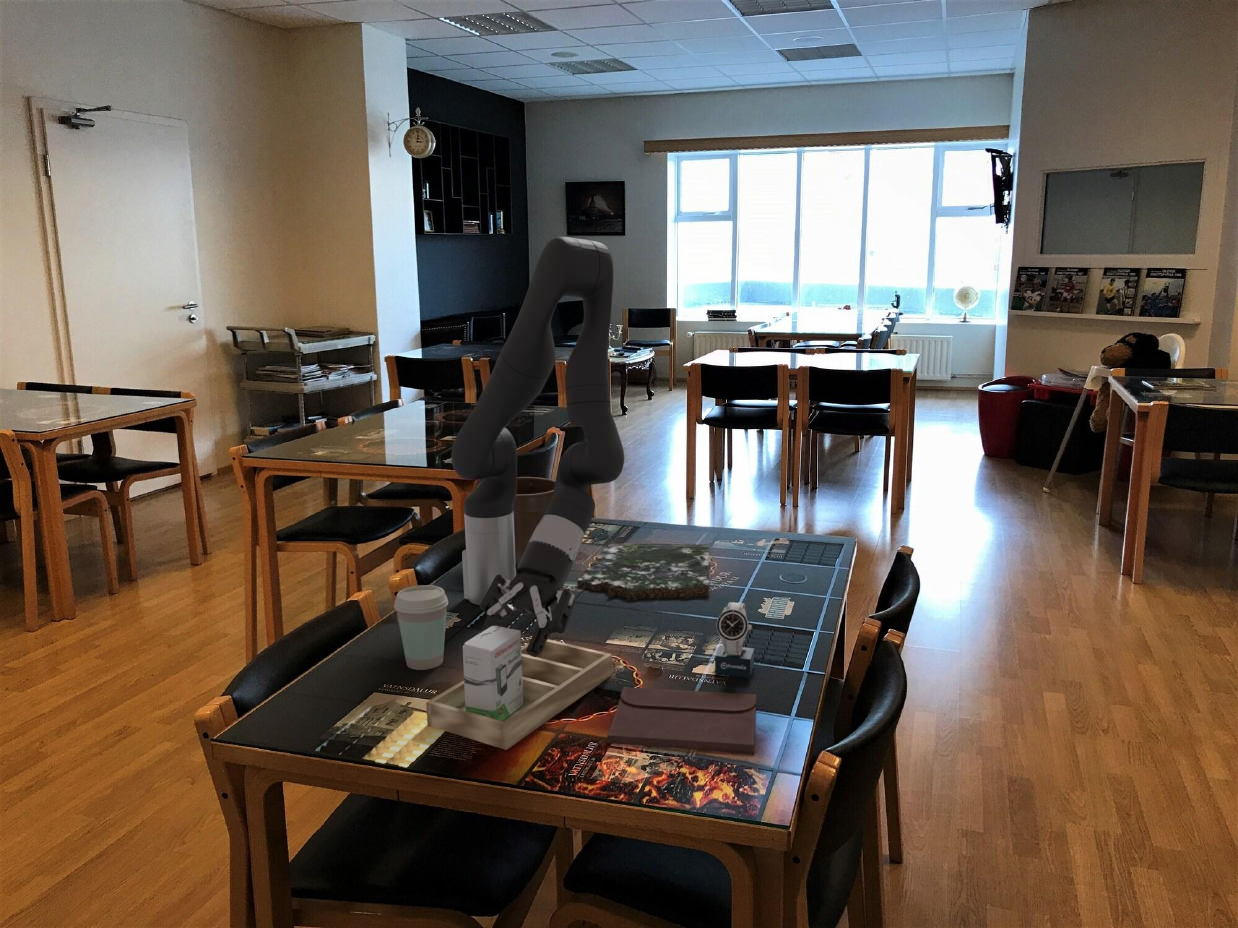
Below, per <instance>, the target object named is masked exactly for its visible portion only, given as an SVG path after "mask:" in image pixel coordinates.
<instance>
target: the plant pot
mask: <svg viewBox="0 0 1238 928" xmlns="http://www.w3.org/2000/svg"><path fill="white" fill-rule="evenodd" d="M555 481H556V480H553V479H550V478H544V477H535V476H533V477H532V476H519V477H518V476H517V493H516V498H515V500H514V504H513V509H514V535H515V561H516V566H518V564H519V562H520V560H521V558H522V556H523V554H524V552H525V549H526V547H527V545H528V543H529V541H530V539H531V537H532V535H533V533H534V530H535V529H536V527H537V525H538V524H539V522H540V521H541V519H542V517H543V515H544V513H545V511H546V509H547V507H548V505H549V503H550V500H551V499H552V497H553V494H554V486H555Z"/></svg>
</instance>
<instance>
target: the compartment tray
mask: <svg viewBox="0 0 1238 928" xmlns="http://www.w3.org/2000/svg"><path fill="white" fill-rule="evenodd" d="M528 645H529V642H527V643H525V644H524V645H523V646H521V658H522V686H523V705H522V706H521V707H519V708H518V709H517V710H516V711H515V712H514V713H512V714H511V715H510V716H509V717H508V718H506V719H505V720H504V721H503V722H502V721H499V720H495V719H492V718H489V717H485V716H482V715H479V714H475V713H472V712H468V711H466V710H465V688H464V680H462V681H460V682H459V683H457V684H455V685H454V686H452V687H449V688H448V689H447V690H445V691H443V692H441V693H440V694H438V695H436V696H434V697H432V698H431V699H429V700H428V701H425V707H426V722H427V723H426V724H427V726H428V727H431V728H435V729H439V730H442V731H445V732H447V733H451V734H453V735H457V736H461V737H465V738H466V739H470V740H474V741H477V742H480V743H482V744H485V745H489V746H493V747H496V748H499V749H502V750H505V751H507V750H508V749H510V748H512V747H513V746H514V745H516V744H517V743H518V742H520V741H521V740H522V739H524V738H526V737H527V736H528V735H530V734H531V733H533V732H534V731H535V730H536V729H538V728H539V727H541V726H543V725H544V724H545V723H547V722H548V721H549V720H551V719H552V718H554V717H555V716H557V715H558V714H559V713H561V712H562V711H564V710H565V709H566V708H568V707H569V706H571V705H572V704H573V703H575V702H577V701H578V700H579V699H581V698H582V697H583V696H584V695H586V694H587V693H589V692H590V691H592V690H593V689H594V688H596V687H597V686H599V685H600V684H602V683H603V682H604V681H606V680H608V679H609V678H610V677H612V676H613V658H612V657H613V656H612V655H613V654H612V653H608V652H605V651H604V652H603V651H600V650H595V649H591V648H586V647H583V646H578V645H573V644H569V643H566V642H563V641H562V642H561V641H558V640H552V639H549V638H548V639H547V641H546V644H545V646H544V648H543V650H542V652H541V653H540V654H538V656H537V657H532V656H530V655H529V654H528V653H527V651H526V650H527V647H528Z"/></svg>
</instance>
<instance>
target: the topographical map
mask: <svg viewBox="0 0 1238 928" xmlns="http://www.w3.org/2000/svg"><path fill="white" fill-rule="evenodd" d="M577 588H581V589H582V588H585V589H587V590H591V591H592V592H596V591H598V592H603V591H606V592H608V594H607V595H608V598H609V599H612V598H614V597H615V598H616V597H623V598H624V599H627V601H637V600H641V599H654V598H655V599H656V598H657V599H658V598H663V599H664V598H665V599H666V598H667V599H675V598H683V599H690V598H695V597H707V598H708V597H710V544H692V543H691V544H690V543H689V544H687V543H686V544H684V543H683V544H681V543H680V544H678V543H674V544H673V543H615V542H614V543H609V542H608V544H607V545H606V546H605V547H604V548H603V550H602V551H601V553H599V555H598V556H597V557H596V558H595V560H594V561H593V562H592V563H591V565H590V566H589V567H586V569H585V570H584V571H583V573H582V575H580V576H579V577H578V579H577Z"/></svg>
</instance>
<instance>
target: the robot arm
mask: <svg viewBox="0 0 1238 928" xmlns="http://www.w3.org/2000/svg"><path fill="white" fill-rule="evenodd" d="M613 261H614V260H613V257H612V253H611V251H610V250H609V248H608V247H607V245H606V244H604V243H602V242H599V241H597V240H590V239H589V240H588V239H582V238H575V237H568V236H556V237H553V238H551V239H550V240H549V241H547V242H546V244H545V246H544V248H543V249H542V251H541V253H540V255H539V257H538V260H537V263H536V265H535V268H534V271H533V274H532V277H531V279H530V282H529V286H528V289H527V292H526V295H525V297H524V299H523V303H522V304H521V305H522V306H521V308H520V310H519V312H518V315H517V318H516V320H515V322H514V324H513V326H512V329H511V331H510V332H509V335H508V337H507V339H506V341H505V343H504V345H503V347H502V349H501V351H500V353H499V355H498V357H497V360H496V361H495V364H494V367H493V369H492V371H491V373H490V376H489V378H488V379H487V382H486V384H485V386H484V387H483V390H482V391H481V394H480V396H479V398H478V400H477V402H476V404H475V406H474V408H473V409H472V411H471V412H470V414H469V415H468V417H467V419H466V420H465V421H464V424H463V425H462V426H461V428H460V429H459V431H458V433H457V435H456V437H455V439H454V441H453V444H452V447H451V455H450V456H451V465H452V467H453V470H454V472H455V474H456V475H457V476H458V477H460V478H462V479H464V480H468V481H470V480H471V481H476V480H481V481H480V483H479V484H478V486H477V487H475V489H474V490H472V492H471V493H469V494H468V495H467V496H466V497H465V498H464V500H463V513H464V514H463V515H464V534H465V536H464V537H465V549H464V550H462V552H461V554H462V555H461V556H462V557H461V561H462V575H463V576H462V580H463V596H464V597H463V598H464V599H465V600H468V601H469V603H470V604H472V605H473V604H474V605H476V606H479V609H481V610H482V611H483V613H485V614H486V618H485V620H484V623H483V625H482V627H481V629H480V631H479V634H480V633H481V632H483V631H485V630H486V629H488V628H490V627H491V626H499V627H500V625H501V622H502V621H503V620H504V619H506V617H509V615H510V616H512V615H514V614H516V613H517V612H519V613H522V614H527V613H528V614H530V615H531V616H535V617H536V618H537V624H538V627H535V629H534V632H533V634H532V636H531V638H530V641H529V642H528V643H529V645H528V647H527V650H526V651H527V653H528V654H529V655H530V656H532V657H537V656H538V654H540V653H541V652H542V650H543V648H544V646H545V644H546V641H547V639H549V637H550V636H551V635H552V634H554V633H558V634H564V632H565V631H566V629H567V626H568V624H569V621H570V618H571V616H572V612H573V609H574V607H575V605H576V602H577V597H576V596H575V595H574V594H573V593H572V591H571V590H569V589H568V588H565V589H563V587H564V586H565V584H566V582H567V579H568V577H569V575H570V572H571V570H572V568H573V565H574V563H575V561H576V558H577V557H578V555H579V552H580V550H581V547H582V543H583V539H584V536H585V535H586V532H587V530H588V527H590V526H589V525H590V523H591V521H592V519H593V516H594V513H595V510H596V502H595V501H594V500H595V499H594V498H593V497H592V496H591V495H590V494H589V493H588V492H589V490H590V487H591V486H593V485H600V484H608V483H612V482H614V481H616V480H617V479H618V478H619V477H620V476H621V474H622V471H623V468H624V464H625V451H624V446H623V443H622V440H621V438H620V434H619V432H618V431H619V430H618V427H617V425H616V422H615V419H614V416H613V414H612V410H611V409H612V408H611V395H610V391H611V390H610V380H609V364H608V363H609V342H610V341H609V340H610V332H611V331H610V330H611V321H612V320H611V319H612V308H613V307H612V304H613V295H614V294H613V292H614V262H613ZM563 297H572V298H573V297H574V298H581V300H582V305H583V320H582V321H583V322H582V327H581V330H580V333H579V336H578V337H577V340H576V343H575V344H574V347H573V349H572V350H571V351H572V352H571V353H570V355H569V358H568V361H567V365H566V367H565V376H564V386H565V387H564V388H565V400H566V401H565V402H566V403H565V404H566V414H567V419H568V421H569V423H570V424H571V425H573V426H576V427H582V430H583V433H584V434H583V435H584V436H585V441H579V442H576V443H573V444H572V445H570V446H569V447H568V448H567V449H566V450H565V451H564V453H563V454H562V456H561V458H560V459H559V463H558V466H557V471H556V472H557V473H556V476H555V480H554V481H555V486H554V494H553V497H552V499H551V500H550V503H549V505H548V507H547V509H546V511H545V513H544V515H543V517H542V519H541V521H540V522H539V524H538V525H537V527H536V529H535V530H534V533H533V535H532V537H531V539H530V541H529V543H528V545H527V547H526V549H525V552H524V554H523V556H522V558H521V560H520V562H519V564H518V565H516V561H515V535H514V509H513V504H514V500H515V498H516V493H517V477H518V476H517V475H518V453H517V452H518V451H517V444H516V441H515V438H514V436H513V435H512V433H511V431H509V430H508V428H506V426H508V425H509V424H510V423H511V422H512V421H513V420H514V419H515V418H516V417H518V415H520V414H521V413H522V412H523V411H524V410H525V409H527V407H529V406H530V405H531V404H532V403H533V402H534V401H535V400H536V398H538V396H539V395H540V393H541V392H542V390H543V389H544V387H545V384H546V382H547V381H548V379H549V377H550V375H551V373H552V371H553V369H554V366H555V364H556V347H555V342H554V337H553V336H554V335H553V332H552V326H551V325H552V318H553V316H554V313H555V310H556V308H557V306H558V304H559V303H560V301H561V299H563ZM516 566H517V567H516ZM561 589H563V590H561ZM556 602H557V605H556V608H555V611H554V613H553V615H552V610H551V606H552V605H554V604H555V603H556ZM509 603H510V604H509Z"/></svg>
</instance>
